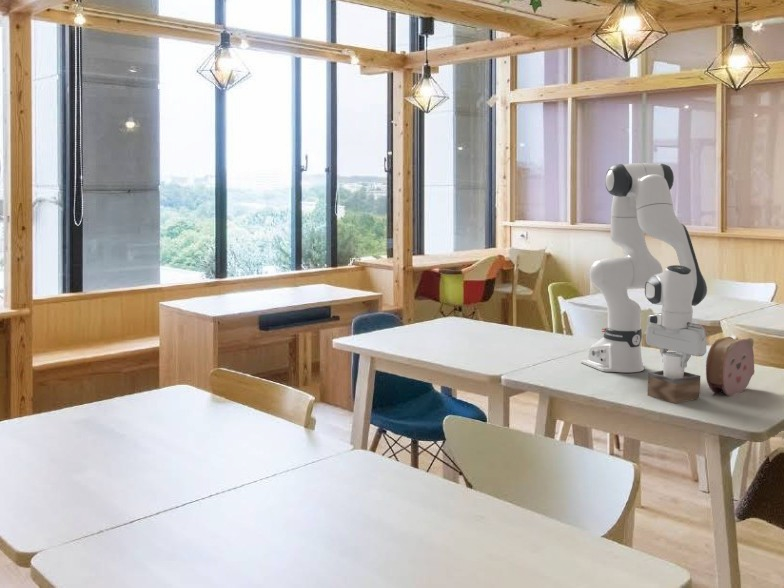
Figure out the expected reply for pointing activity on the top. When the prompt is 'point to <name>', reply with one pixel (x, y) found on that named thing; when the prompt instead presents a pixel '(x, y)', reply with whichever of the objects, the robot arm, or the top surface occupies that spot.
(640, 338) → the robot arm
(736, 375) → the face sculpture
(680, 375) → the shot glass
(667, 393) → the wooden box
